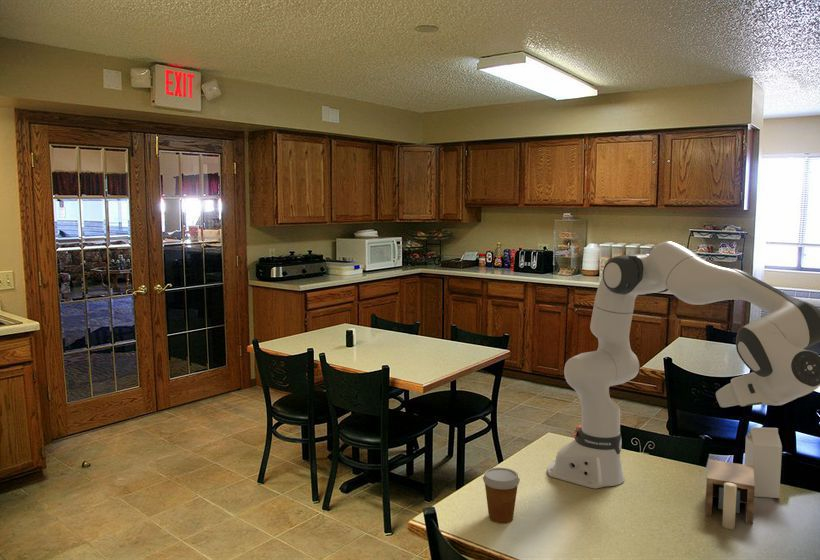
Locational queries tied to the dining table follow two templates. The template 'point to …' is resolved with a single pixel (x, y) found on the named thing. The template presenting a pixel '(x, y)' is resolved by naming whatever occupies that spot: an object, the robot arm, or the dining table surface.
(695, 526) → the dining table surface
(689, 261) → the robot arm
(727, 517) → the cream rounded block
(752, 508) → the walnut cubby
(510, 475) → the disposable coffee cup
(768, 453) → the milk carton
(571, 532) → the dining table surface
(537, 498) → the dining table surface
